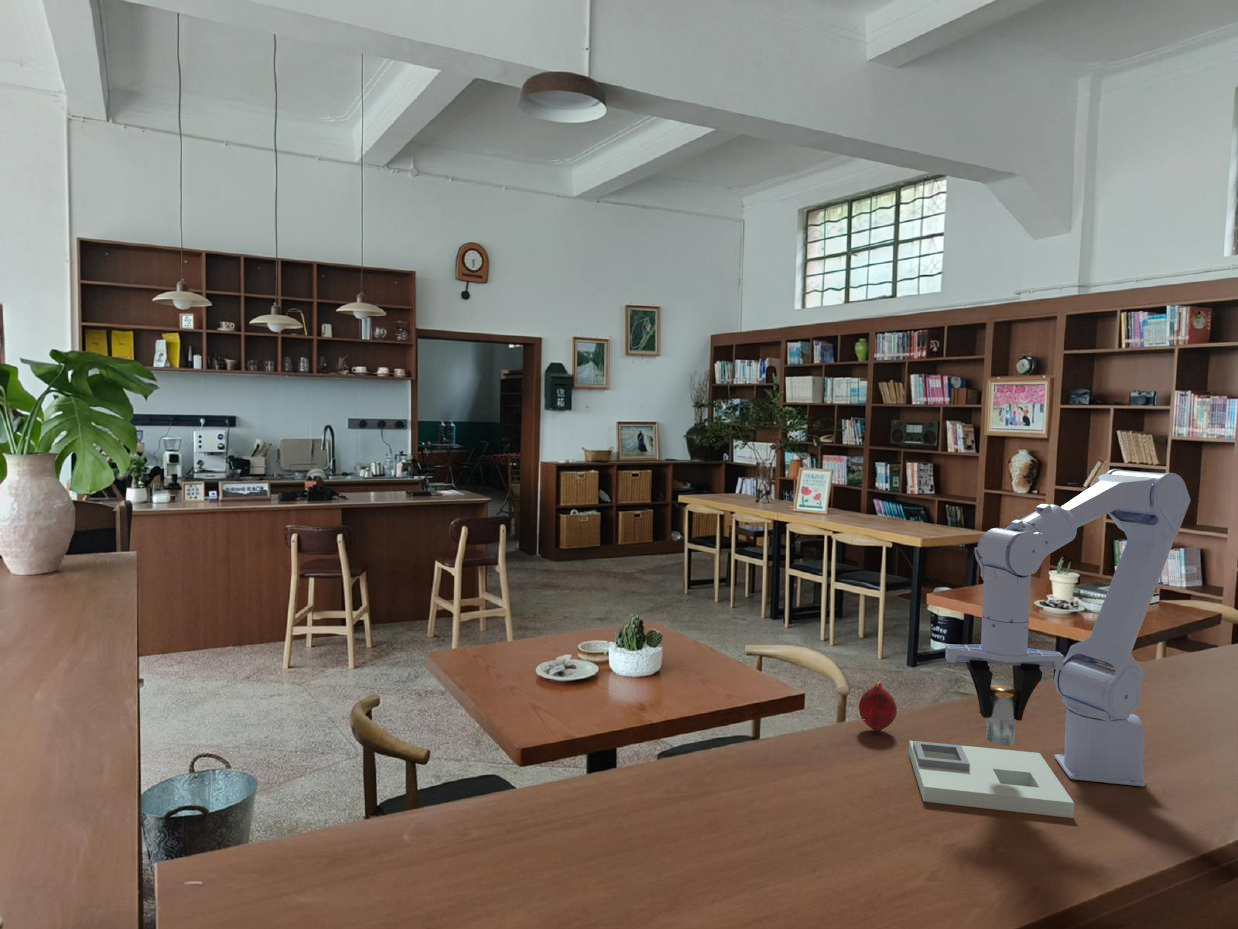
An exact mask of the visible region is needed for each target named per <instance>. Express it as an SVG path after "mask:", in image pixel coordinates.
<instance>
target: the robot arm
mask: <svg viewBox="0 0 1238 929" xmlns="http://www.w3.org/2000/svg"><path fill="white" fill-rule="evenodd" d="M1191 502H1192V501H1191V497H1190V494H1189V490H1188V489H1187V485H1186V483H1185V481H1184V479H1183V478H1182V476H1180V475H1179V474H1177V473H1174V472H1165V473H1162V472H1161V473H1160V472H1148V471H1147V472H1146V471H1135V470H1134V471H1133V470H1124V469H1121V468H1113V469H1110V470H1108V471H1107V472H1106V473H1103V474H1101V475H1098V476H1097V478H1096V481H1095V483H1094V484H1093V485H1091V486H1090V487H1089V488H1087V489H1085V490H1084V491H1082V492H1081V493H1080V494H1078V495H1077V496H1075V497H1073V498H1072V499H1070V500H1069V501H1067V502H1066V503H1064V504H1063V505H1061V506H1059V505H1057V504H1048V503H1041V504H1039V505H1037V506H1036V507H1035V511H1034V512H1032V513H1029V514H1028V515H1026V516H1024V517H1023V518H1020V519H1015V520H1012V521H1011V522H1010V524H1009V525H1008V526H1006V527H1005V528H1001V527H994V528H990V529H989V530H987V531H986V532H984V533H983V534H982V535H981V536H980V537H979V540H978V543H977V547H974V556H975V560H976V562H977V563H978V564H979V567H980V577H981V579H982V580H983V586H982V587H983V588H982V590H983V591H982V608H981V609H982V611H981V612H982V614H981V634H980V635H981V636H980V637H981V638H980V644H945V659H946V661H947V663H957V662H962V663H963V662H964V663H965V665H966V667H967V669H968V671H969V674H970V677H971V679H972V682H973V685H974V689H975V692H976V695H977V700H978V704H979V706H978V707H979V713H980V715H981V717H982V718H984V719H985V718H986V719H987V718H989V714H990V688H991V685H992V680H993V675H994V674H993V672H992V671H991V669H990V668H991V667H990V665H989V664H991V665H993V664H994V665H1006V666H1011V667H1012V679H1013V680H1012V682H1013V686H1012V688H1014V689H1016V690H1017V694H1016V716H1015V721H1022V720H1023V717H1024V712H1025V710H1026V707H1027V705H1028V702H1029V700H1030V698H1031V695H1032V694H1033V692H1034V690H1035V689H1036V688H1037V686H1038V684H1040V682H1041V680H1042V678H1043V671H1041V668H1050V669H1054V670H1055V671H1054V677H1053V682H1054V688H1055V690H1056V693H1057V694H1058V695H1059V696H1061V697H1062V698H1061V699H1062V700H1061V704H1062V705H1065V706H1066V709H1065V710H1066V714H1065V727H1064V728H1065V729H1064V730H1065V732H1064V733H1065V734H1064V754H1059V753H1058V754H1054V759H1055V760H1056V762H1058V764H1059V765H1060V767H1061V768H1062V770H1063V772H1065V774H1066V775H1067V776H1068V777H1069V779H1071V780H1074V781H1075V780H1076V781H1077V780H1079V781H1086V782H1096V783H1105V784H1117V785H1126V786H1127V785H1128V786H1134V787H1135V786H1137V787H1145V782H1144V762H1145V745H1146V744H1145V741H1146V739H1145V738H1146V737H1145V730H1144V726H1143V723H1142V720H1141V719H1140V717H1139V716H1138V715H1137V714H1134V712H1135V711H1136V710H1137V708H1138V706H1139V704H1140V702H1141V696H1142V695H1141V694H1142V693H1141V692H1142V691H1141V689H1142V688H1141V686H1142V681H1143V679H1144V676H1145V672H1144V670H1143V668H1142V667H1141V665H1140V664H1139V663H1138V661H1137V660H1136V659H1135V657H1134V656H1133V654H1132V652H1133V650H1134V647H1135V644H1136V641H1137V638H1138V635H1139V634H1140V631H1141V628H1142V625H1143V622H1144V621H1145V617H1146V615H1147V613H1148V610H1149V607H1150V605H1151V602H1152V599H1153V596H1154V594H1155V591H1156V589H1157V587H1158V584H1159V581H1160V578H1161V576H1162V573H1163V570H1164V567H1165V565H1166V563H1167V561H1168V557H1169V555H1170V552H1171V550H1172V546H1173V544H1174V542H1175V537H1177V536H1178V534H1179V532H1180V529H1181V527H1182V524H1183V522H1184V519H1185V516H1186V513H1187V511H1188V508H1189V505H1190V503H1191ZM1105 515H1108V516H1109V517H1110V518H1111V519H1112V521H1113V523H1114V524H1115V525H1116V526H1117V529H1120V530H1121V531H1123V532H1124V534H1125V536H1126V543H1125V546H1124V548H1123V550H1122V553H1121V556H1120V558H1119V561H1118V564H1117V566H1116V569H1115V572H1114V573H1113V576H1112V579H1111V582H1110V585H1109V587H1108V590H1107V592H1106V595H1105V596H1104V600H1103V602H1102V605H1101V608H1100V610H1099V612H1098V615H1097V618H1096V620H1095V624H1094V625H1093V629H1092V630H1091V633H1090V636H1089V637H1088V638H1086V639H1083V640H1081V641H1079V642H1076V643H1074V644H1072V645H1070V647H1069V649H1068V652H1067V654H1066V656H1064V655H1063V654H1062V653H1061V652H1059V651H1054V650H1053V651H1052V650H1042V649H1037V648H1028V645H1029V642H1028V640H1029V623H1030V622H1029V621H1030V619H1029V618H1030V603H1031V602H1030V600H1031V597H1030V596H1031V584H1032V582H1031V580H1032V575H1034V574H1036V573H1037V572H1038V571H1039V569H1040V568H1041V566H1042V563H1043V561H1044V560H1045V559H1046V558H1047V557H1048V555H1049V554H1051V553H1054V552H1055V551H1057V550H1058V549H1061V547H1064V546H1066V545H1067V544H1069V543H1071V542H1072V541H1073V540H1075V538H1076V536H1077V533H1078V532H1077V530H1078V528H1079V527H1082V526H1085V525H1087V524H1089V523H1091V522H1093V521H1095V520H1097V519H1099V518H1101V517H1103V516H1105ZM1103 665H1104V666H1103ZM1105 666H1107V667H1105ZM1109 667H1110V668H1109ZM1112 668H1113V669H1112Z"/></svg>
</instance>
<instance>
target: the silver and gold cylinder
mask: <svg viewBox="0 0 1238 929" xmlns="http://www.w3.org/2000/svg"><path fill="white" fill-rule="evenodd" d="M1016 694H1017V690H1016V689H1014V688H1013V686H1012V687H1011V686H1008V685H1003V684H991V688H990V714H989V718H986V729H985V730H986V731H985V740H987V742H989V743H992V744H996V745H1000V746H1011V745H1014V744H1015V738H1016V736H1015V735H1016V734H1015V730H1016V719H1015V716H1016Z"/></svg>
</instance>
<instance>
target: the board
mask: <svg viewBox="0 0 1238 929" xmlns="http://www.w3.org/2000/svg"><path fill="white" fill-rule="evenodd" d="M908 742H909V744H908V755H909V759H910V761H911V762H910V763H911V764H912V768H913V772H914V775H915V778H916V781H917V785H918V788H919V792H920V795H921V798H922V801H923V803H924V802H926V803H934V804H943V805H952V806H962V807H969V808H977V809H978V808H979V809H988V810H997V811H1003V812H1004V811H1006V812H1015V813H1023V814H1034V815H1043V816H1051V817H1059V818H1060V817H1061V818H1069V819H1074V812H1075V810H1074V809H1075V802H1074V800H1073V799H1072V798H1071V796H1070V795H1069V793H1068V792H1067V791H1066V788H1065V787H1064V786H1063V784H1062V783H1061V782H1060V780H1059V779H1058V777H1057V776H1056V775H1055V773H1054V772H1053V770H1052V769H1051V767H1050V766H1049V764H1048V763H1047V761H1046V760H1045V759H1044V757H1043V756H1042V754H1041V753H1040V752H1032V751H1031V752H1030V751H1025V750H1024V751H1023V750H1012V749H1000V748H993V747H992V748H991V747H981V746H969V745H960V744H951V743H949V744H948V743H938V742H931V741H930V742H929V741H928V742H927V741H919V740H908Z"/></svg>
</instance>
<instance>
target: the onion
mask: <svg viewBox="0 0 1238 929" xmlns="http://www.w3.org/2000/svg"><path fill="white" fill-rule="evenodd" d="M897 708H898V707H897V703H896V700H894V698H893V696H892V695H891V694H890V693H889V691H887V690H886V689H884V687H883V683H882V682H880V681H877V682H875V684H874V685H873V687H872V688H870V689H868V690H866V692H864V693H863V695H862V696H861V697H860V699H859V703H858V711H859V716H860V718H861V720H862V719H865V720H862V721H863V722H864V724H866V726H868V727H869V728H870V729H872V730H873V731H874V732H881V731H882V730H884V729H885V728H888V727H889V726H890V725H891V724H892V723H893V722H894V720H895V719H896V717H897V714H898V713H897V712H898V711H897Z"/></svg>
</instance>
